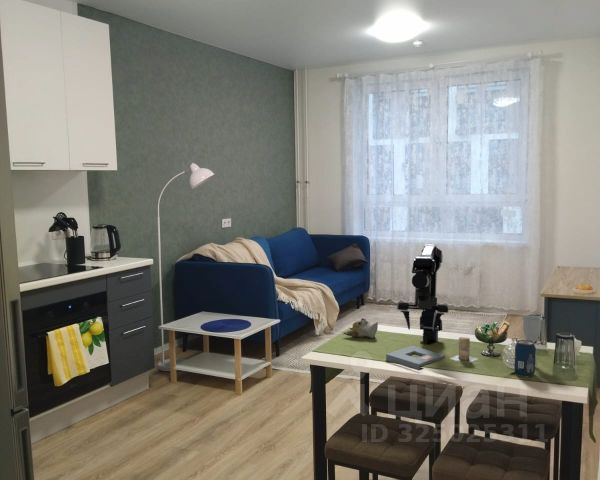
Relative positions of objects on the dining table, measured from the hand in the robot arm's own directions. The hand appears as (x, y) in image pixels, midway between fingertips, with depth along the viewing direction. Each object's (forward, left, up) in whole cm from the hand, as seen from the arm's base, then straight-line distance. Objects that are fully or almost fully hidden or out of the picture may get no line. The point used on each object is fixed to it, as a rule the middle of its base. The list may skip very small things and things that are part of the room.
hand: (421, 330), depth 216 cm
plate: (-14, +10, -13) cm, 22 cm away
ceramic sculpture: (-11, -41, -14) cm, 45 cm away
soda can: (-19, +32, -14) cm, 39 cm away
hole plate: (-2, -4, -13) cm, 14 cm away
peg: (-14, +10, -12) cm, 21 cm away
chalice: (-31, +28, -14) cm, 44 cm away
